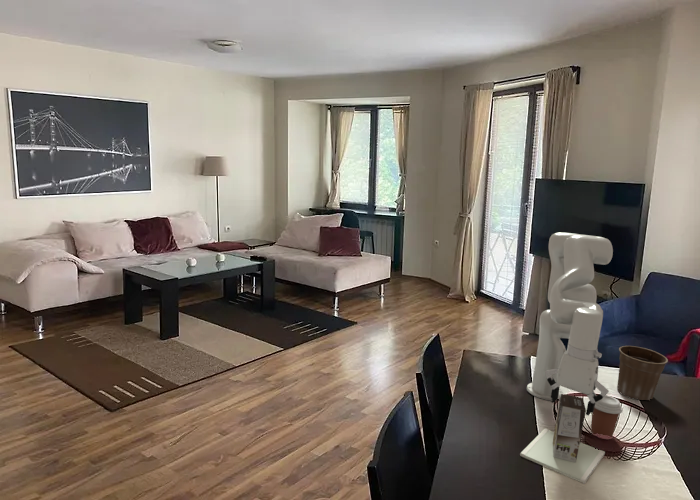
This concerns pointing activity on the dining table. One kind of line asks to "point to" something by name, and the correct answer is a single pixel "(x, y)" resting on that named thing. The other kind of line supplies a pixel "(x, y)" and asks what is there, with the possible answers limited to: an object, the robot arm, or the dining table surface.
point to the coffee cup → (605, 415)
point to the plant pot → (639, 372)
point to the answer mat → (543, 455)
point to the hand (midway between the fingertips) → (571, 407)
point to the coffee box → (568, 427)
